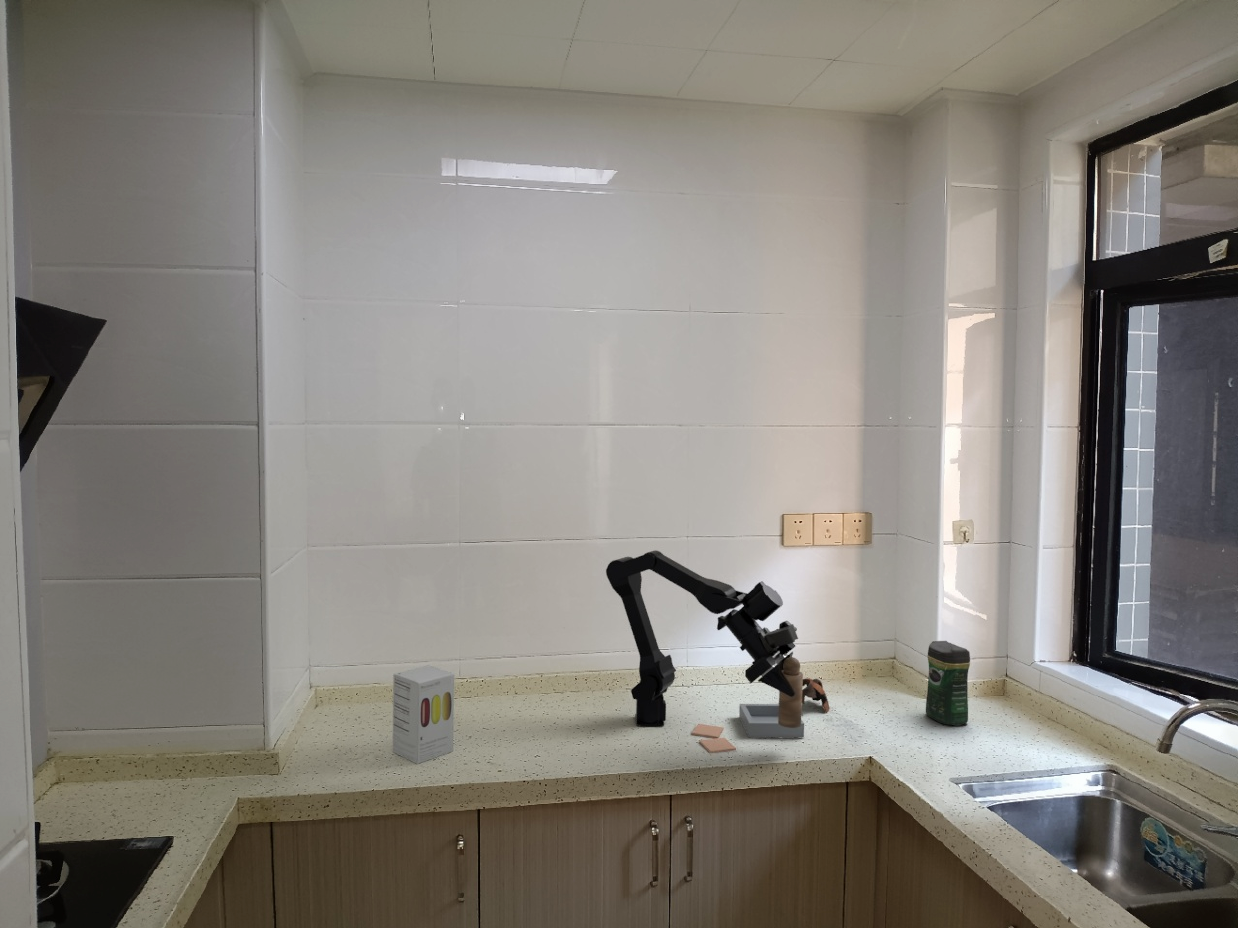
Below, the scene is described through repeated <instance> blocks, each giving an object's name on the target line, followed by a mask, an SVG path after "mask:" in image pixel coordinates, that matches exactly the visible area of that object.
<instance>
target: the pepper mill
mask: <svg viewBox="0 0 1238 928" xmlns="http://www.w3.org/2000/svg"><path fill="white" fill-rule="evenodd" d="M800 670H801V662H800V661H799V659H798V658H796V657H793V656H792V657H789V658H787V659H786V660H785V661H784V663H783V670H782V673H783V675H784V676H785V678H786V679H787V681H788V682H789V684H790V685H791V687H792V689H793V690H794V692H795V695H794V696H793V697H790V696H788V695H786V694H785V693H783V692H781V691H779V690H778V704H779V716H778V723H779V724H780V725H781V726H784V727H788V728H797V727H800V726H801V720H802V714H803V713H802V710H803V709H802V708H803V703H802V690H803V687H804V686H803V679H804V673H803V672H801V671H800Z"/></svg>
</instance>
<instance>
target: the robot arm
mask: <svg viewBox="0 0 1238 928" xmlns="http://www.w3.org/2000/svg"><path fill="white" fill-rule="evenodd" d="M648 570H650V571H652V572H653V573H655V574H657V575H659V576H660V577H662V578H664V579H666V580H668V581H669V582H671V583H672V584H675V585H676V586H678V587H680V588H682V589H683V590H684V591H686V592H688V593H690V594H691V595H693V596H694V597H695V599H696V600H697V602H698V603H699V604H700V605H701V606H703V607H704V608H705V609H706V610H708V611H709V612H710V613H712V614H715V615H720V614H722V613H726V611H728V610H730V611H729V612H728V613H727V614H726V615H725V616H723V615H720V616H719V617H717V625H716V626H717V627H716V629H717V631H721V630H722V629H724V628H726V627H727V629H728V630H729V631H730V632H731V634H732V635H733V636H734V637H735V638H736V640H737V641H738V642H739V644H740V645H741V646H739V649H740V650H741V651H742V652H744V651H746V652H747V653H748V654H749V656H750V657H751V659H753V661H752V662H751V665H750V666H748V668H746V669H745V671H744V674H745V675H744V677H745V678H746V679H747V681H748V682H749V683H750V684H753V683H754V682H755V681H756V680H757V679H758V678H759V679H758V680H757V682H758V683H763V684H765V685H767V686H769V687H771V688H773V689H775V690H777V691H778V692H779V691H781V692H783V693H785V694H786V695H788V696H790V697H793V696H794V695H795V692H794V690H793V689H792V687H791V685H790V684H789V682H788V681H787V679H786V678H785V676H784V675H783V673H782V670H783V663H784V661H785V660H786V659H787V658H789V657H793V655H794V651H792V650H793V649H794V648H796V645H795V644H794V643H795V642H796V640H798V639H799V637H798V634H797V629H798V628H797V627H796V626H794V624H793V623H791V622H789V621H788V620H785V621H782V622H780V623H779V626H778V628H777V629H775V630H772V631H770V629H769V628H767V627H765V626H764V627H761V626H760V624H759V623H758V622H757V621H758V620H759V621H760V622H764V621H765V620H767V619H768V618H769V617H771V615H772V614H774V613H775V612H776V611H777V610H779V609H780V608H781V607H782V606H783V605H784V601H783V599H782V596H780V593H779V592H777V590H775V589H774V588H772V587H771V586H769V585H767V584H766V583H765V582H764V581H759V582H758V583H757V584H755V586H754V587H753V588H752V589H751V590H750V591H749V592H748V593H747V592H743V591H739V590H736V589H735V588H734V586H732V585H730V584H728V583H725V582H723V581H720V580H717V579H716V580H715V579H713V578H712V579H711V578H707V577H704V576H702V575H700V574H698V573H697V572H695V571H693V570H691V569H690V568H688V567H686V566H684V565H682V564H680V563H679V562H678V561H676V560H673V559H671V558H670V557H668V556H667V555H665V554H663V553H662V552H661V551H659V550H658V549H657V550H655V549H654V550H651V551H649V552H646V553H644V554H642V555H640V556H637V557H634V558H633V557H632V556H625V557H620V558H618V559H613V560H612V561H609V564H607V567H606V569H605V574H606V578H607V579H608V581H609V584H610V587H611V588H612V589H613V590H614V592H615V593H616V594H617V595H618V596H619V597H620V599H621V602H622V604H623V607H624V610H625V614H626V616H627V620H628V623H629V627H630V629H631V631H632V632H631V633H632V636H633V639H634V641H635V646H636V649H637V650H638V651H637V652H638V655H639V668H638V672H639V673H638V674H639V680H640V681H639V682H638V684H636V685H635V686H634V687H632V689H631V690H630V692H631V695H632V699H633V700H635V714H634V719H635V725H636V726H637V727H664V726H665V721H666V720H667V719H666V717H667V701H666V699H665V698H664V694H665V693H667V691H668V690H669V689H668V688H669V687H670V686H672V685H673V683H674V681H675V679H676V676H675V672H676V671H677V669H676V668H675V666H674V665H673V659H672V656H671V654H668V655H665V654H663V652H662V651H661V649H660V648H659V645H658V642H657V638H656V635H655V632H654V630H653V626H652V623H651V620H650V616H649V613H648V611H647V608H646V605H645V601H644V598H643V595H642V579H643V577H642V572H646V571H648ZM741 605H742V607H741V608H740V609H739V610H738V609H736V608H738V607H739V606H741ZM789 652H790V653H789ZM788 653H789V654H788Z"/></svg>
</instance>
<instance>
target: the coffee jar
mask: <svg viewBox="0 0 1238 928" xmlns="http://www.w3.org/2000/svg"><path fill="white" fill-rule="evenodd" d="M970 654H971V653H970V650H968V649H967V648H966V647H961V646H959V645H956V644H955V643H951V642H948V641H947V640H934V641H931V643H929V645H928V650H927V663H928V680H927V690H926V691H927V692H926V701H925V714H926V716H928V717H929V718H931V719H932V720H934V721H936V722H938V723H940V724H943V725H951V726H952V725H953V726H962V725H964V724H967V723H968V722H969V702H968V701H969V697H968V695H969V694H968V693H969V692H968V691H969V689H968V681H969V680H968V675H969V669H970V666H971V655H970Z"/></svg>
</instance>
